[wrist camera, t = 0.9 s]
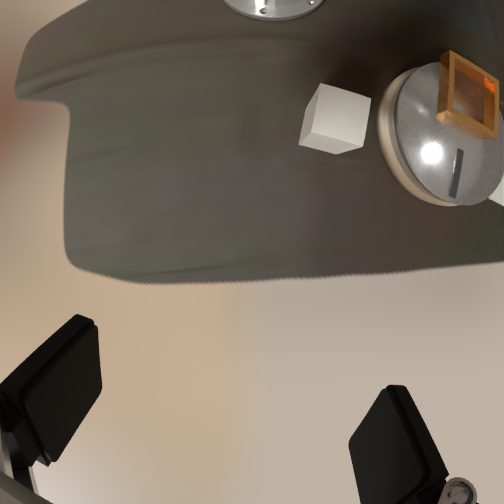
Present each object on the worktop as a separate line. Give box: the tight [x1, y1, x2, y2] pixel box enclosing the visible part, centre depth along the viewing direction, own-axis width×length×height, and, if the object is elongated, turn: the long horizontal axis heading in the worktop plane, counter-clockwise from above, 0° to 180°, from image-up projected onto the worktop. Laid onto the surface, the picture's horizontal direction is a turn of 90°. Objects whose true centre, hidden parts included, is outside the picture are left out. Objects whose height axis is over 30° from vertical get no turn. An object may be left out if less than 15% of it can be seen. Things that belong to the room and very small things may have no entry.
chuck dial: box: [388, 50, 504, 205], centre depth 22 cm, size 15×15×5 cm
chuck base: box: [376, 66, 457, 206], centre depth 26 cm, size 16×16×2 cm
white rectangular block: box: [298, 83, 371, 154], centre depth 24 cm, size 4×4×9 cm
